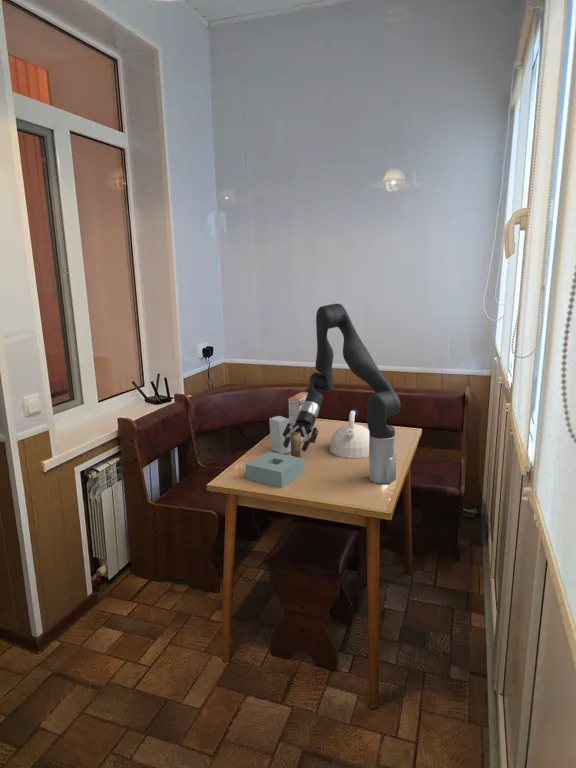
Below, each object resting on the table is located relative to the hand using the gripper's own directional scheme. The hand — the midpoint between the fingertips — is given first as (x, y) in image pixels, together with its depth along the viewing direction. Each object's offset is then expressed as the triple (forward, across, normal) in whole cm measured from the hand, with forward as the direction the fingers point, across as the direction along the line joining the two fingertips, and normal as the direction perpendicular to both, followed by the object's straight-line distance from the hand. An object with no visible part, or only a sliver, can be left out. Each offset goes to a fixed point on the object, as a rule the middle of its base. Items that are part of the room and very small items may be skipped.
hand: (294, 448), depth 207 cm
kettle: (-14, +13, +24) cm, 31 cm away
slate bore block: (+14, 0, -5) cm, 15 cm away
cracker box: (-16, -15, +26) cm, 34 cm away
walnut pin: (+4, 0, +6) cm, 7 cm away
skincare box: (-3, -14, +13) cm, 19 cm away
